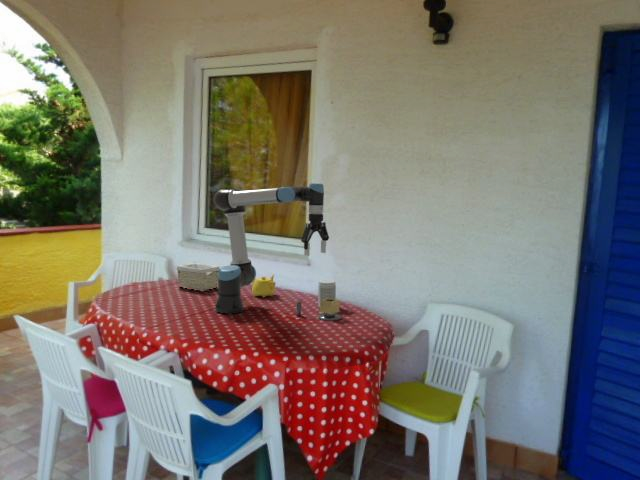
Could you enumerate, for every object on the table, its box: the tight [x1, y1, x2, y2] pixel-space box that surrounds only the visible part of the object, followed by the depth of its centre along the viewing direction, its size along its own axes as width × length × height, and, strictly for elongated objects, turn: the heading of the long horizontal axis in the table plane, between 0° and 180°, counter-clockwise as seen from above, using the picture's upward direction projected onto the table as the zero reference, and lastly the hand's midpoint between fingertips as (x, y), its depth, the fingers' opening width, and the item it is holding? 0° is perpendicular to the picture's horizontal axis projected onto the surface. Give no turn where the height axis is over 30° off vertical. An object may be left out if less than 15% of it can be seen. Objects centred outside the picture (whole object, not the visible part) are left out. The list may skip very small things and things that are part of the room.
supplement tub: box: [317, 279, 337, 309], centre depth 272 cm, size 10×10×15 cm
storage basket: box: [176, 262, 221, 290], centre depth 313 cm, size 24×16×15 cm
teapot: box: [251, 274, 277, 298], centre depth 296 cm, size 14×14×12 cm
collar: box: [319, 298, 341, 314], centre depth 252 cm, size 7×7×6 cm
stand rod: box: [296, 300, 302, 317], centre depth 254 cm, size 2×2×8 cm
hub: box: [317, 313, 342, 322], centre depth 252 cm, size 12×12×7 cm
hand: (315, 254), depth 256 cm, fingers open, 13 cm apart
